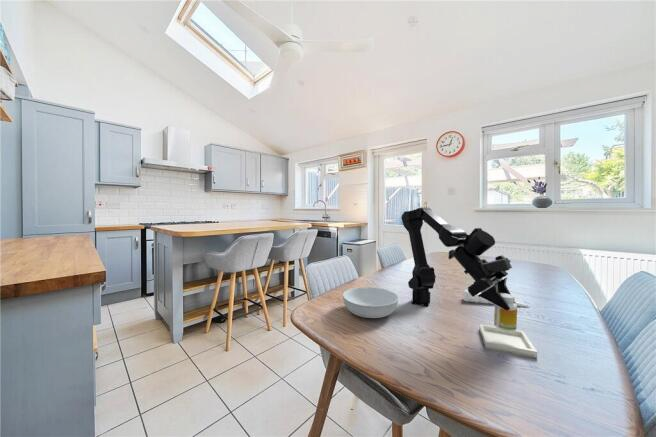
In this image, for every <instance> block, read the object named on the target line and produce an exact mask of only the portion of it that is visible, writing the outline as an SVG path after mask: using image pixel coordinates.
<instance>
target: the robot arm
mask: <svg viewBox="0 0 656 437" xmlns="http://www.w3.org/2000/svg"><path fill="white" fill-rule="evenodd" d="M401 221H402V225H403V228H405V229H406V231H407V232H408V235H409V236H408V237H409V241H410V248H411V251H412V258H413V262H414V267H413V268H412V271H411V272H412V277H411V278H410V279H409V280H408V282H407V283H408V287H409V288H410V290H412V292H411V294H412V295H411V296H412V298H411V300H412V301H411V304H412V305H419V306H424V307H429V305H430V304H431V291H430V290H432V289H434V285H435V283H436V278H437V276H436V273H435V269H434V266H433V267H432V266H431V265H429V264H428V261H427V256H426V250H425V245H424V241H423V235H422V231H421V229H422V226H423V224H424V222H425V223H426V224H427V225H428V226H429V227H430V228H431V229H433V230H434V231H435V232H436V233H437V234H438V240H440V242H441V243H442V244H443V245H444V246H445V247H447V248H451V247H452V248H455V247H456V248H455V249H451V250H449V251H448V260H451V259H452V260H453V258H454V259H455V260H456V261H457V262H458V263H459V264H460V265H461V267H462V268H463V269H464V270H463V273H464V274H466V275H467V274H468V275H469V276H470V277H471V278H472V279H473V284H470V285H469V286H468V287H467V290H468V292H469V293H470V294H471V296H472V297H473V296H475V295H477V294H478V293H481V294H479V295H478V296H479V297H482V298H484V299H486V300H488V301H490V302H492V303H494V304H493V305H495V304H496V305H497V306H499V307H501V308H503V309H505V310H509V309H510V307H509V306H508V304H507V303H506V301H505V300H504V299H503V297H502V296H501V295H500V293H506V294H510V295H512V294H511V292H510V289H508V287H507V281H508V277H507V276H508V275H509V273H508V272H507V271H510V269H513V267H512V264H511V260H510V259H509V258H508V257H505V256H504V255H502V254H501V255H498V256H495V259H494V260H492V261H487V259H484V258H483V259H481V258H480V257H479V256H481V255H483V254H484V253H486V252H487V251H488V250H490V249H491V248H492V247H493V246H495V244H496V239H495V238H494V236H493V235H491V234H490V233H489V232H487V231H485V230H483V229H482V228H481V227H475V228H474V229H473V230H472V231H471V233H469V234H468V233H467V232H466V231H465V230H464V229H461V228H460V227H457V226H455V225H451V224H449V223H448V222H446V221H445V220H444V219H442V218H441V217H440V216H439V215H438V214H437V213H436V212H434V211H433V210H432V209H431V208H430V207H419V208H416V209H412V210H407V211H404V212H403V213H402V214H401ZM515 302H516V301H514V302H513V303H515Z"/></svg>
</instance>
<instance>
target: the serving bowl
mask: <svg viewBox="0 0 656 437" xmlns="http://www.w3.org/2000/svg"><path fill="white" fill-rule="evenodd" d="M342 300H343V304H344V306H345V308H346V309H347V311H349V312H351V313H352V314H353V315H355V316H358V317H361V318H366V319H367V318H368V319H380V318H384V317H387V316H390V315H391V314H393V312H394V311H395V310H396V309H397V306H398V302H399V296H398V295H397V294H396V293H395V292H394V291H391V290H388V289H385V288H381V287H373V286H372V287H371V286H359V287H352V288H349V289H347V290H345V291H344V292H343V293H342Z"/></svg>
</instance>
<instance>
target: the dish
mask: <svg viewBox="0 0 656 437" xmlns="http://www.w3.org/2000/svg"><path fill="white" fill-rule="evenodd" d="M479 332H480V335H481V338H482V342H483V343H484V344H483V345H484V347H485V349H488V350H492V351H498V352H503V353H507V354H513V355H519V356H524V357H528V358H534V359H538V350H537V349H536V347H535V346H534V344H533V343H532V341H531V340H530V339H529V337H528V335H527V334H526V333H525V331H524V330H523V331H522V330H517V329H516V330H515V331H512V332H510V331H504V330H501V329H499V328H497V327H496V326H495V325H494V326H492V325H488V324H481V323H480V324H479Z"/></svg>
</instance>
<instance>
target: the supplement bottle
mask: <svg viewBox="0 0 656 437" xmlns="http://www.w3.org/2000/svg"><path fill="white" fill-rule="evenodd" d="M510 294H511V293H510ZM510 294H506V293H500V295H501V296H502V297H503V299H504V300H505V301H506V303H507V304H508V306H509V307H510V309H509V310H505V309H503V308H501V307H499V306H497V305H496V304H494V312H493V313H494V316H493V318H494V320H493V325H494V327H497V328H499V329H501V330H504V331H510V332H512V331H515V330H517V322H518V321H517V320H518V306H517V305H516V304H515V303H513V302H514V301H515V299H516V298H515V296H514V295H513V294H511V295H510ZM515 302H516V301H515Z"/></svg>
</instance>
